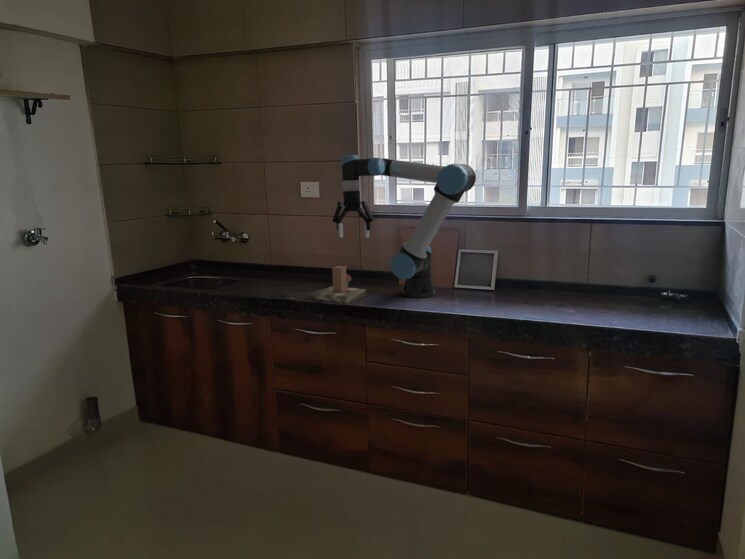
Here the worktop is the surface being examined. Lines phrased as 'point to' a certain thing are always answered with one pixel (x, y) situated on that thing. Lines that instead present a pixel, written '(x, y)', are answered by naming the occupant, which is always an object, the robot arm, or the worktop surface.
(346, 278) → the cupcake
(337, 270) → the bracket bar
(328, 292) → the well block
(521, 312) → the worktop surface
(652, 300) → the worktop surface
